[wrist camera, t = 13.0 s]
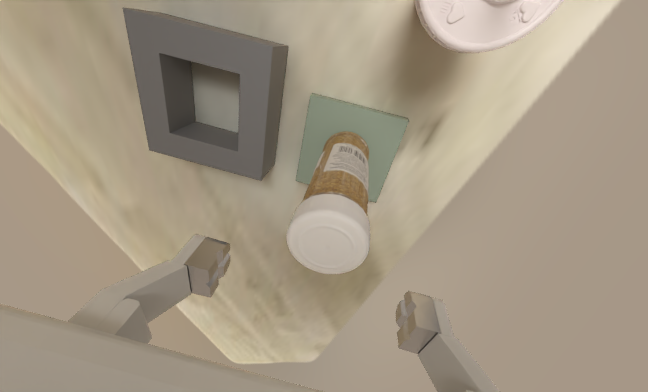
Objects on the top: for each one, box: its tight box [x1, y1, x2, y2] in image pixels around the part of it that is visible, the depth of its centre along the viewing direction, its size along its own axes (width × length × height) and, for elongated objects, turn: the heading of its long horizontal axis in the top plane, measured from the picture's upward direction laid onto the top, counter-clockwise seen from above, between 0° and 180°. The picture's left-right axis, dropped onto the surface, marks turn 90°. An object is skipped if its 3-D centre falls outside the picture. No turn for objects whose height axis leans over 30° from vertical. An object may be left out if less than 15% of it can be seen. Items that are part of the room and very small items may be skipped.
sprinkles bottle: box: [287, 131, 370, 274], centre depth 19 cm, size 5×5×14 cm
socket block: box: [123, 8, 288, 180], centre depth 23 cm, size 11×11×4 cm
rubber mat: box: [296, 93, 409, 202], centre depth 25 cm, size 9×9×1 cm
